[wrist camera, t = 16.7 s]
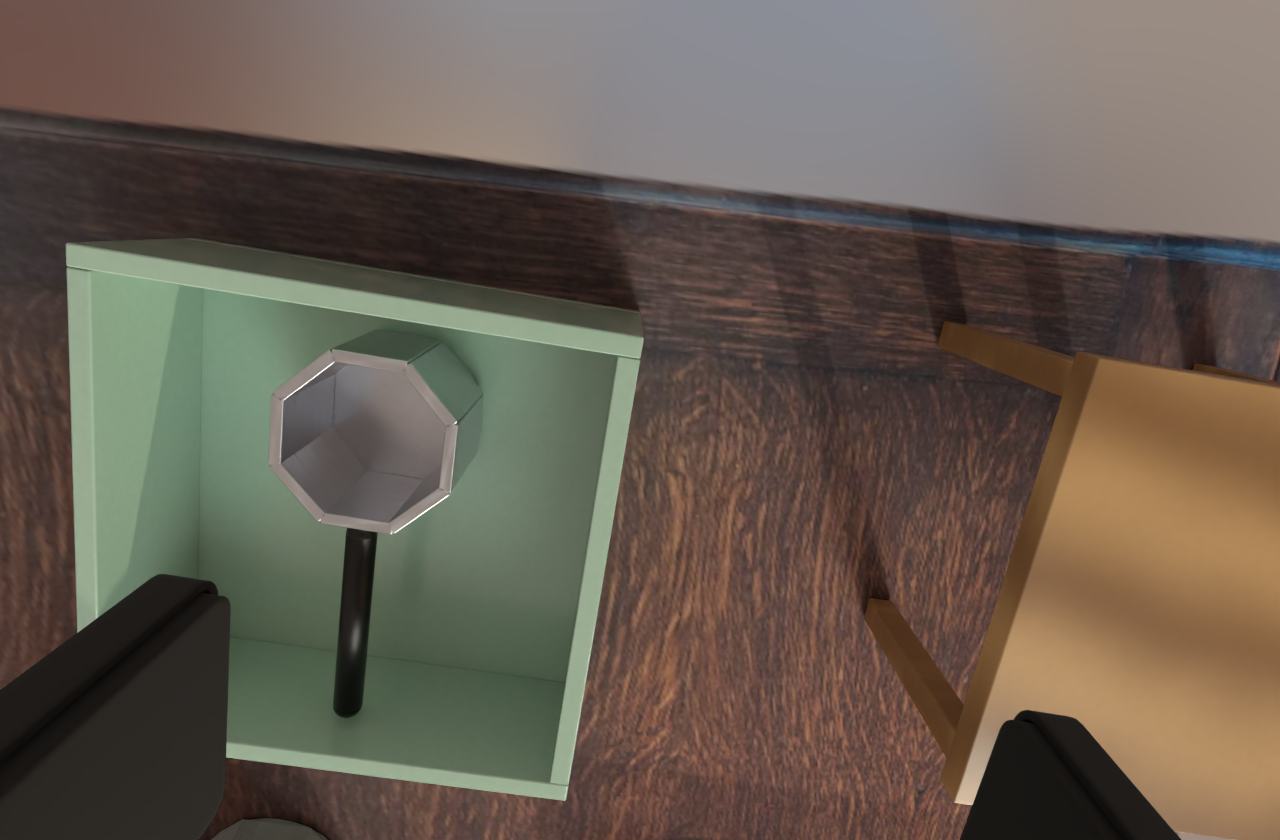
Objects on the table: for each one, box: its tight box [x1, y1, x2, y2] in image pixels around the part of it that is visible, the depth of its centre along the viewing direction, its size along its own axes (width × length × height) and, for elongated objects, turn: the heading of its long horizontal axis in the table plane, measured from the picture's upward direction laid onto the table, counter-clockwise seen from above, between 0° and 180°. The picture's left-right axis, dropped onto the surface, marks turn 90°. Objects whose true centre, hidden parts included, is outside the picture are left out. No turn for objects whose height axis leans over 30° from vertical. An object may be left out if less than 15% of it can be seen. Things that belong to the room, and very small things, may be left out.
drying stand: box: [864, 321, 1280, 840], centre depth 30 cm, size 16×14×12 cm
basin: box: [66, 238, 644, 801], centre depth 32 cm, size 20×20×8 cm
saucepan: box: [268, 330, 484, 718], centre depth 32 cm, size 16×7×6 cm, turn 170°
